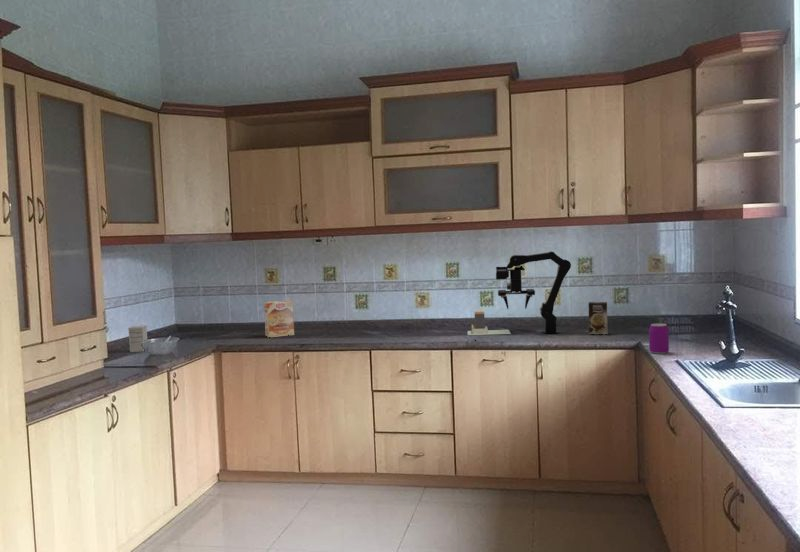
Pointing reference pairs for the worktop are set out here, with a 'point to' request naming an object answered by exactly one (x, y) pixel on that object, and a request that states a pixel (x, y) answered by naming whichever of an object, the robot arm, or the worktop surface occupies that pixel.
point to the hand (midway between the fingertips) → (516, 308)
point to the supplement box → (137, 337)
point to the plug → (479, 320)
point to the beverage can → (659, 338)
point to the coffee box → (597, 317)
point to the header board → (486, 331)
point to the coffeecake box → (279, 318)
